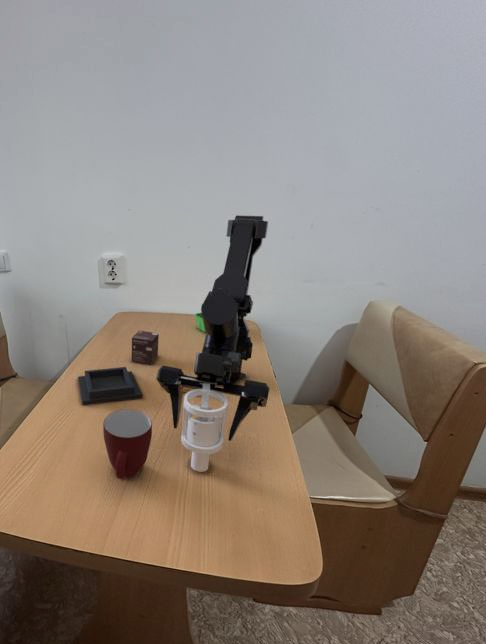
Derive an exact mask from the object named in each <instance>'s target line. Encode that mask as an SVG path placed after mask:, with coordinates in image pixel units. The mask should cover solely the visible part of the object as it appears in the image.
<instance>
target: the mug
mask: <svg viewBox="0 0 486 644" xmlns="http://www.w3.org/2000/svg"><path fill="white" fill-rule="evenodd" d="M102 425H103V431H102V432H103V433H102V434H103V441H104V444H105V449H106V452H107V457H108V460H109V464H110V465H111V466H112V468H113V469H114V471H115V477H116V478H117V479H119V480H126V478H133V477H135V476H137V475H138V474H139V473H140V471H141V470H142V468H143V467H144V465H145V464H146V462H147V459H148V455H149V451H150V446H151V443H152V442H151V441H152V438H153V437H152V436H153V421H152V419H151V418H150V416H149V415H147V413H144V412H143V411H140V410H137V409H131V408H125V409H119V410H115V411H113V412H111V413H109V414H108V415H107V416H106V417H105V418H104V420H103V424H102Z"/></svg>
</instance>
